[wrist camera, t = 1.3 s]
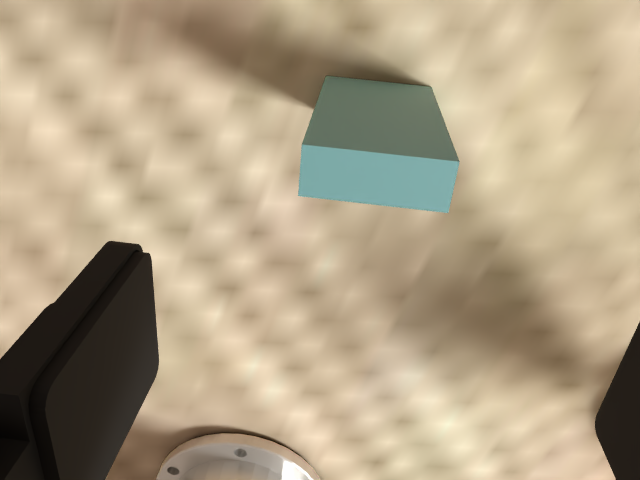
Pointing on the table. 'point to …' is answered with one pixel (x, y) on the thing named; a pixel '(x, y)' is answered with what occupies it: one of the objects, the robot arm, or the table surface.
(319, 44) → the table surface
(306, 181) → the teal block
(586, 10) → the table surface
